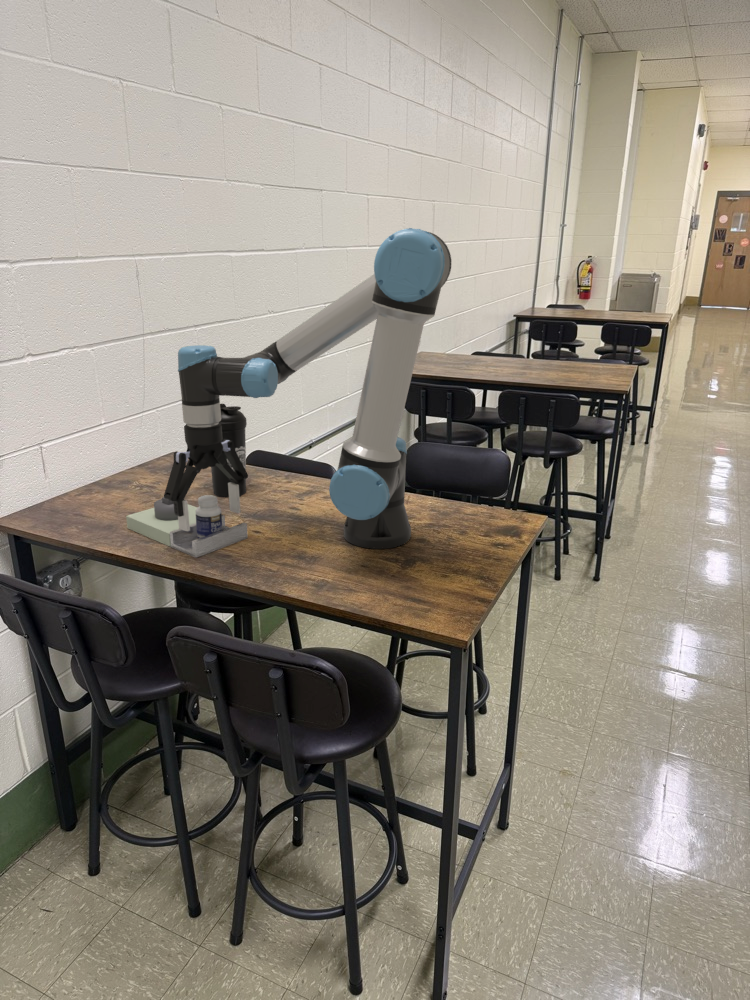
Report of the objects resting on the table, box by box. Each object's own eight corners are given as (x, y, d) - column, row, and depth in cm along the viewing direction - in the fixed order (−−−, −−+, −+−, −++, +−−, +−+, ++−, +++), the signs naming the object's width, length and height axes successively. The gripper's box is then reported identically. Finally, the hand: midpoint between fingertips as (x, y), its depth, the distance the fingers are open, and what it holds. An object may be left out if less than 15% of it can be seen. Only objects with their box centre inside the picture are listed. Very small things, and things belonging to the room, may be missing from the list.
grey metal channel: (247, 538, 152) (247, 523, 151) (196, 557, 142) (195, 542, 140) (222, 528, 157) (221, 514, 156) (170, 547, 147) (169, 531, 145)
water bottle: (228, 501, 174) (223, 412, 167) (201, 492, 180) (196, 406, 173) (257, 491, 182) (254, 405, 174) (231, 483, 188) (227, 400, 180)
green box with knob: (221, 528, 157) (220, 498, 155) (170, 546, 147) (167, 515, 144) (178, 512, 166) (176, 483, 164) (127, 528, 156) (124, 498, 154)
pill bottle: (215, 546, 146) (212, 503, 143) (192, 543, 147) (189, 500, 144) (227, 537, 151) (225, 495, 148) (205, 534, 152) (202, 492, 149)
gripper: (237, 411, 152) (243, 501, 159) (138, 431, 133) (150, 533, 140) (260, 415, 147) (265, 508, 154) (161, 437, 129) (172, 542, 136)
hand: (210, 520), depth 147 cm, fingers open, 13 cm apart
